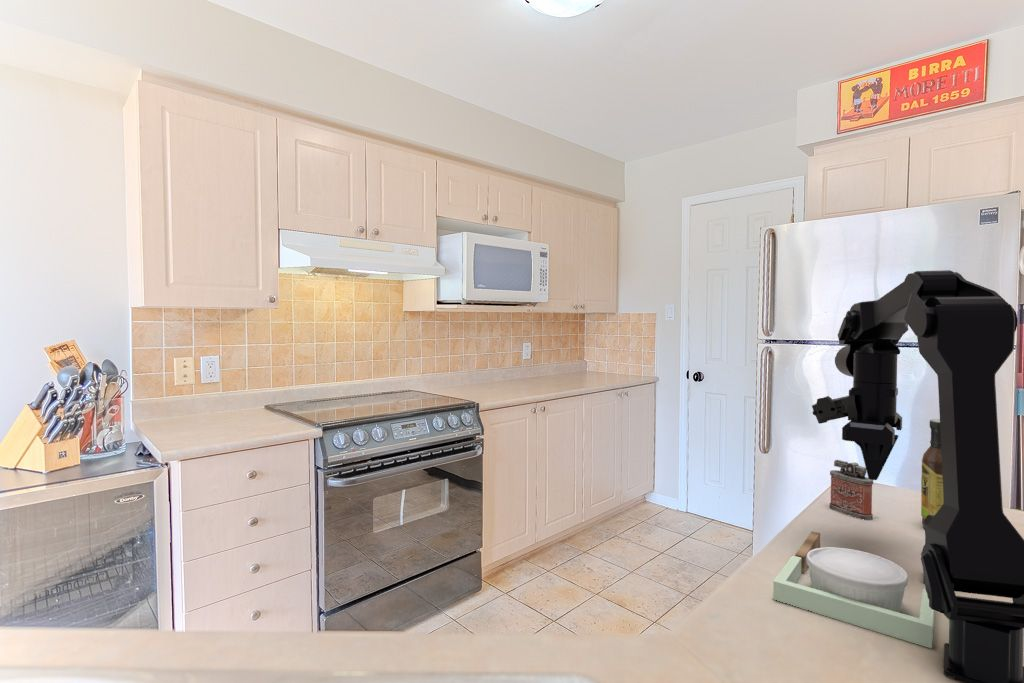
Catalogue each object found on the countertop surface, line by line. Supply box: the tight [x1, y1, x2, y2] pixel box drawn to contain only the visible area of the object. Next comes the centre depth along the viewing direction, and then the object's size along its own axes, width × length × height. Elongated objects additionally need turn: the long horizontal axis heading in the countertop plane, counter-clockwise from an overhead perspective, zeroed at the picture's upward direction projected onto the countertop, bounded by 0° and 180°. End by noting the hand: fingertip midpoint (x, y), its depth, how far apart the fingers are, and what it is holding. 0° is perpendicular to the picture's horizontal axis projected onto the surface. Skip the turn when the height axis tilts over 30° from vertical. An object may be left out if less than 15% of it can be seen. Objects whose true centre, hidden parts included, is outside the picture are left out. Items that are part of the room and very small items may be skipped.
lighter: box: [828, 459, 874, 521], centre depth 103 cm, size 8×3×10 cm, turn 22°
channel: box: [794, 531, 925, 585], centre depth 77 cm, size 12×16×3 cm
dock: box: [772, 555, 936, 650], centre depth 68 cm, size 10×16×2 cm, turn 50°
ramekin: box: [806, 546, 909, 613], centre depth 69 cm, size 11×11×5 cm
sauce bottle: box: [920, 418, 944, 527], centre depth 93 cm, size 6×6×20 cm
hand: (872, 479), depth 84 cm, fingers closed
